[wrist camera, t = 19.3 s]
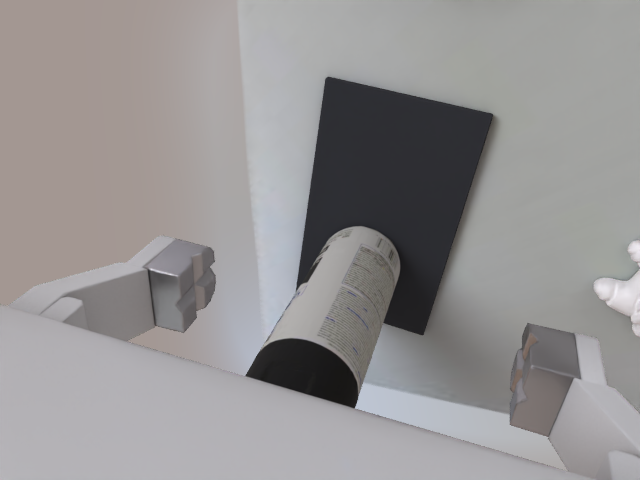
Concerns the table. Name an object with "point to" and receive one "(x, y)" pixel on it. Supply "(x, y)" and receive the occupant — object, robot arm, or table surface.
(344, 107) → the mat
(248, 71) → the table surface
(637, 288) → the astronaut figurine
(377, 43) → the table surface
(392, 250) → the spray can
